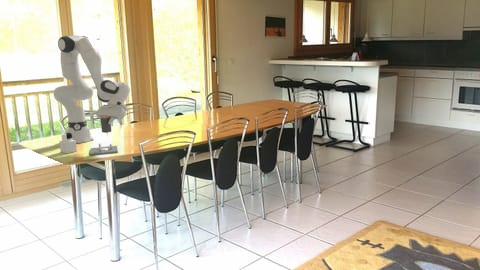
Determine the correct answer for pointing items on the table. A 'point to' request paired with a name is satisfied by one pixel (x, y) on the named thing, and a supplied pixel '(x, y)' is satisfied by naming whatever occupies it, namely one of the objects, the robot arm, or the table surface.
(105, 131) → the plug housing
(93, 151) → the pin dock
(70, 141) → the medicine bottle
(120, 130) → the table surface
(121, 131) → the table surface
